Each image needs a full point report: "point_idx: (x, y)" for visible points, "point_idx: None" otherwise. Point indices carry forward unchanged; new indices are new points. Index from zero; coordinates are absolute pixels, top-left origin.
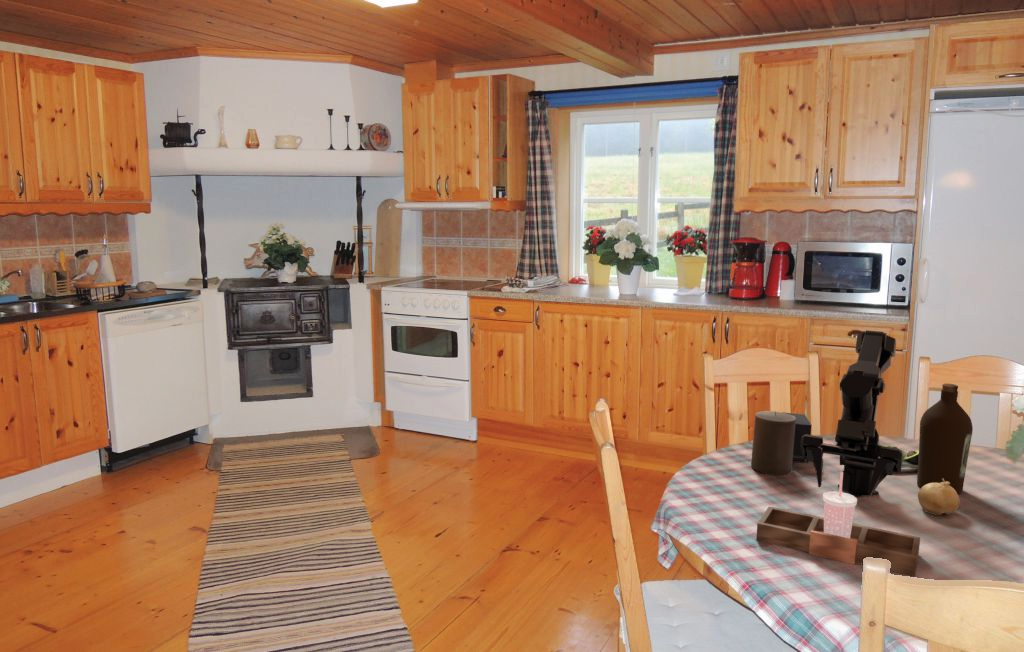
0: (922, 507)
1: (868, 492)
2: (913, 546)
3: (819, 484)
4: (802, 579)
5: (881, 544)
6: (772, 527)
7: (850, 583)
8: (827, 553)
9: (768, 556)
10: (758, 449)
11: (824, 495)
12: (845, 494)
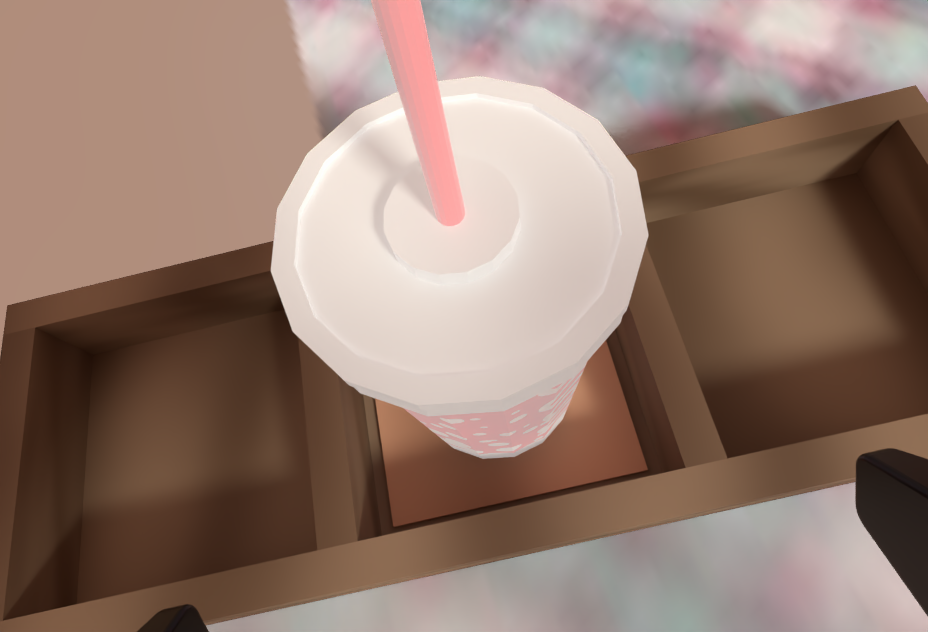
0: None
1: (178, 618)
2: (15, 455)
3: (872, 451)
4: (481, 7)
5: (257, 560)
6: (815, 113)
7: (321, 99)
8: None
9: (693, 65)
10: None
11: (604, 151)
12: (438, 371)
